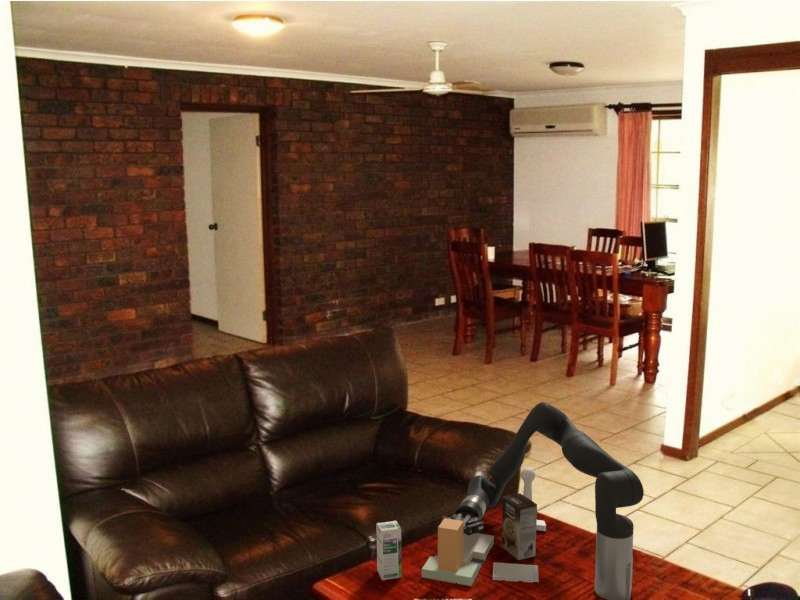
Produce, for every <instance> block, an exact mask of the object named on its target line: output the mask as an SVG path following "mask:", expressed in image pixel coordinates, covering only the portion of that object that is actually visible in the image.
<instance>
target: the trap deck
mask: <svg viewBox="0 0 800 600" xmlns="http://www.w3.org/2000/svg"><path fill="white" fill-rule="evenodd" d="M494 541H495V535H491V534H485V533H480V532H478V533H475V534H472V535H466V534H464V535H463V563H462V565H461V566H460V568H459V570H458V571H457V572H456V571H451V570H445V569H439V568H438V552H437V553H436V554H435V556H429V557H428V559H427V561H426V562H425V564H424V565H423V567H422V568H421V578H424V579H429V580H435V581H440V582H445V583H446V581H447V583H452V584H456V583H457V584H458V585H463V586H468V587H472V586H473V584H474V581H475V579H476V578H477V576H478V574H479V572H480V571H479V570H481V569H482V567H483V565H484V563H485V561H486V559H487V557H488V556H487V555H489V554H488V553H490V552H491V550H492V548H493V547H494V545H495V542H494ZM490 549H491V550H490ZM489 551H490V552H489ZM482 564H483V565H482ZM480 568H481V569H480Z"/></svg>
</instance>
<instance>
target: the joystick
mask: <svg viewBox="0 0 800 600" xmlns="http://www.w3.org/2000/svg"><path fill="white" fill-rule="evenodd" d="M535 478H536V472H535V470H534V469H533V468H531V467H524V468H523V469H522V470H521V471H520V479H522V481H523V491H522V492H523V493H522V495H524V496H525V497H527V498H528V499H530V500H531V501H533V491H532V490H533V485H532V483H533V481H534V480H535ZM536 531H539V532H540V531H541V532H547V524H546V522H545V520H541V519H537V524H536Z"/></svg>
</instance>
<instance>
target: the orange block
mask: <svg viewBox="0 0 800 600" xmlns="http://www.w3.org/2000/svg"><path fill="white" fill-rule="evenodd" d="M447 518H448V517H447ZM447 518H444V520H443V519H442V520H441V523H440V524H439V525H438V526H437V553H438V568H439V569H445V570H451V571H456V572H457V571H458V570H459V568H460V566H461V565H462V563H463V523H464V521H460V520H453V519H447Z"/></svg>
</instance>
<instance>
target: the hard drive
mask: <svg viewBox="0 0 800 600" xmlns="http://www.w3.org/2000/svg"><path fill="white" fill-rule="evenodd" d="M502 580H505V581H506V582H518V581H523V582H522V583H533V582H538V584H539V582H540V579H539V565H535V564H534V565H533V564H524V563H523V564H521V563H508V562H507V563H506V562H495V561H494V562H493V564H492V581H502Z"/></svg>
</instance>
